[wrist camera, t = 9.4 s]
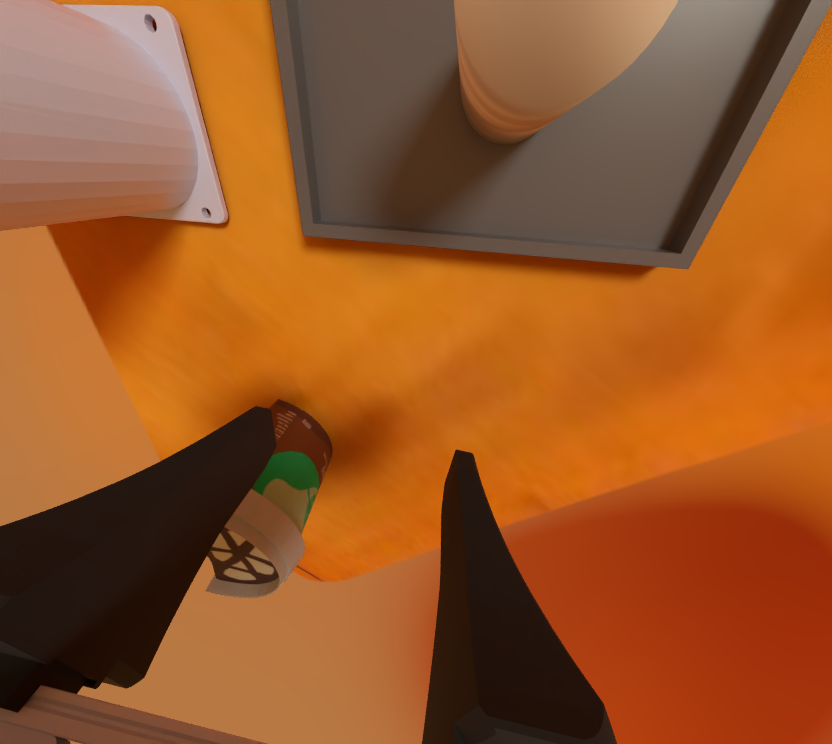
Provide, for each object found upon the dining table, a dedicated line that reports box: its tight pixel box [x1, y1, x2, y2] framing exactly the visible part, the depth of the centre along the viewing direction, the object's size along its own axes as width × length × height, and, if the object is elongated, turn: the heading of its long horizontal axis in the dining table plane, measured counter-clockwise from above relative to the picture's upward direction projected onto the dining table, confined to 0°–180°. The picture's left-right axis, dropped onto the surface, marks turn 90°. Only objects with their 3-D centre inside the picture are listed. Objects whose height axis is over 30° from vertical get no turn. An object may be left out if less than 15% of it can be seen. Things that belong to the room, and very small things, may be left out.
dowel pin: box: [454, 0, 678, 145], centre depth 8 cm, size 4×4×8 cm
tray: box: [270, 0, 832, 269], centre depth 12 cm, size 18×12×2 cm, turn 87°
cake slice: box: [206, 400, 332, 598], centre depth 23 cm, size 12×6×10 cm, turn 165°
